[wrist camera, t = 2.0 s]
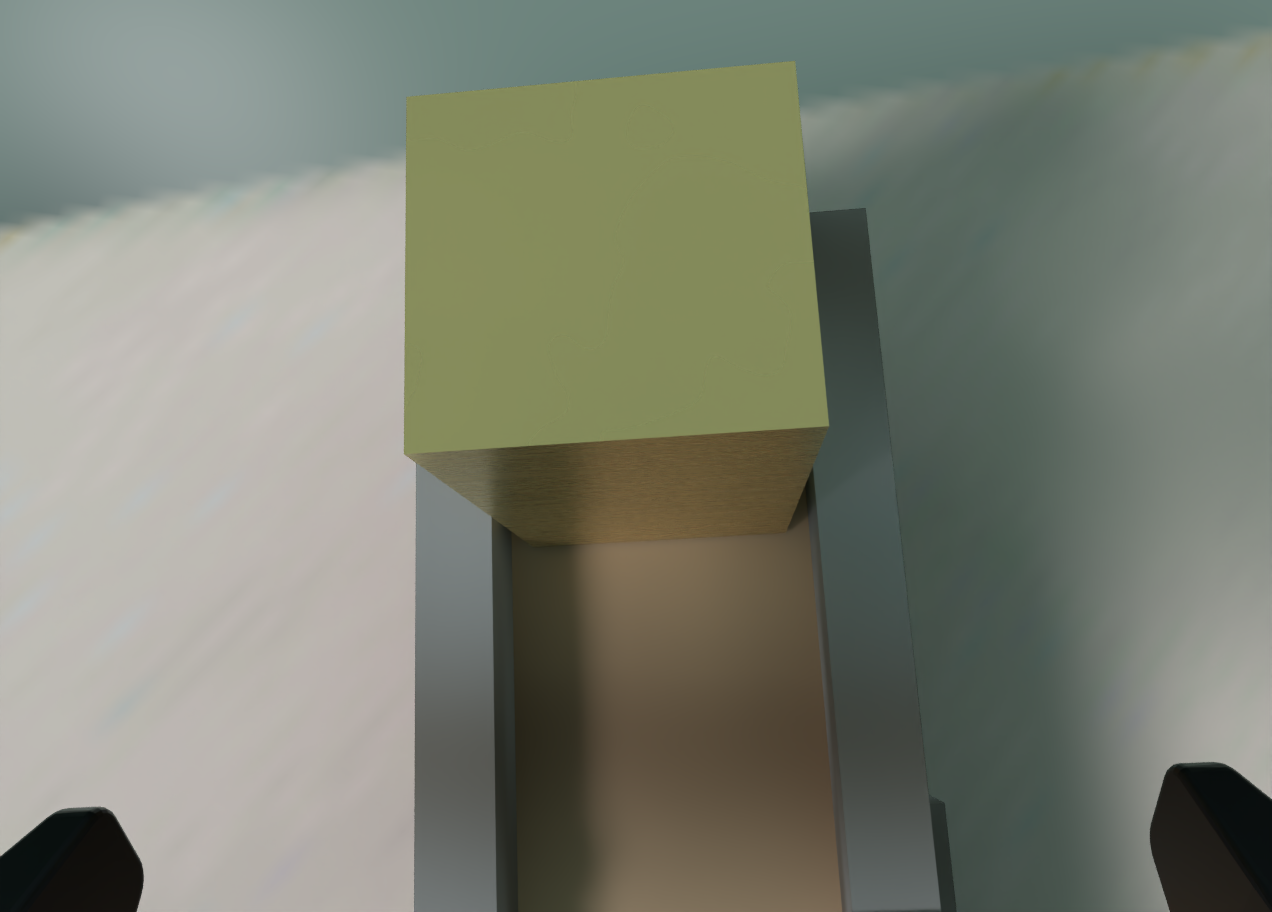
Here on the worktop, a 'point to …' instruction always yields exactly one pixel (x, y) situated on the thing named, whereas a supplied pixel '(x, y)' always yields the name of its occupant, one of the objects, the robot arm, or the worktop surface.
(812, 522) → the grey open tray
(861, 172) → the worktop surface
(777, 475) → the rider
